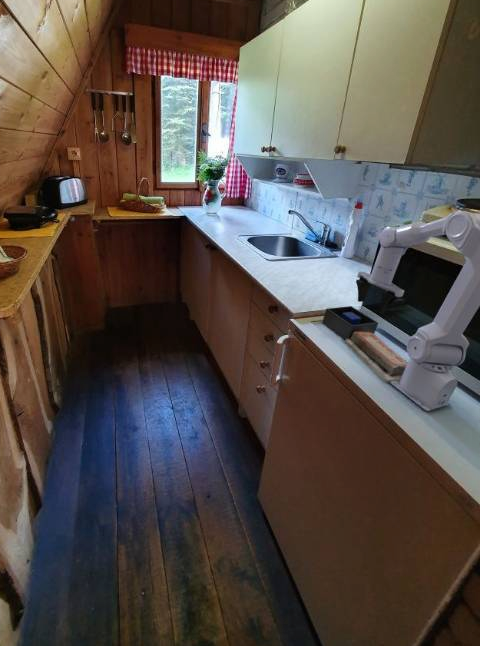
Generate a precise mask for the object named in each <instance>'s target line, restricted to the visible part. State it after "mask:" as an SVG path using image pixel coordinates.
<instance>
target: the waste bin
mask: <svg viewBox="0 0 480 646" xmlns="http://www.w3.org/2000/svg"><path fill="white" fill-rule="evenodd" d="M347 312H352V313H354V314H356V315H357V316H359V317H360V318H361V321H360V323H359V325H351V324H350V323H348V322H347V321H345V320H344V319H342V318H341V316H342V313H347ZM322 324H324V326H325V327H327V328H328V329H330V330H331V331H333V332H334V333H335V334H336V335H338V336H339V337H341V338H342V339H343V340H344V341H345V340H346V339H351V337H352V336H353V333H354V332H370V333H372V334H374V335H375V333H376V331H377V328H378V325H379V322H378V321H376V320H375V319H373V318H372V317H370V316H368V315H367V314H365V313H364V312H361V311H360V310H358V309H357V308H355V307H354V306H351V305H349V306H338V307H337V306H336V307H328V308H326V309H325V312H324V315H323V318H322Z"/></svg>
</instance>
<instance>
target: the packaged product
mask: <svg viewBox="0 0 480 646" xmlns="http://www.w3.org/2000/svg"><path fill="white" fill-rule="evenodd" d="M344 343H345V344H346V345H347V347H349V348H350V349H351V350H352V351H353V352H354V354H356V355H357V356H358V358H360V359H361V360H362V362H363V363H365V364H366V365H367V366H368V367H369V368H370V369H371V370H372V371H373V372H374V373H375V374H376V375H377V376H378V377H379V378H380V379H381V380H382V381H383V382H384V383H390V382H391V381H398V380H400V379H401V377H402V375H403V373H404V371H405V368H406V366H407V364H408V362H407V361H405V360H404V359H403V358H402V357H401V356H399V355H398V354H397V352H395V351H394V350H393V349H391V347H389V345H387V344H386V343H385V342H383V341H382V339H380V338H379V337H378V336H376V335H375V333H374V334H372V333H370V332H354V333H353V336H352V337H351V339H346V340H345V339H344ZM390 384H391V383H390Z"/></svg>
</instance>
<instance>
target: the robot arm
mask: <svg viewBox="0 0 480 646" xmlns="http://www.w3.org/2000/svg"><path fill="white" fill-rule="evenodd" d="M445 235H446V237H447V239H448V240H449V242H450V243H451V244H452V245H453V246H454V248H455V249H456V250H457V251H458V253H459V254H461V255H462V256H463V257H464V259H465V263H464V265H463V266H462V268H461V270H460V272H459V274H458V275H457V277H456V279H455V281H454V282H453V285H452V286H451V288H450V290H449V292H448V294H447V295H446V297H445V299H444V301H443V302H442V305H441V306H440V308H439V310H438V312H437V313H436V315H435V317H434V319H433V321H432V322H431V323H428V324H425V325H423V326H420V327H419V328H418V329H417V331H416V332H415V334H413V335H411V336H410V337H409V338H408V341H407V342H406V351H407V355H408V357H409V359H408V362H407V363H408V364H407V366H406V368H405V371H404V373H403V375H402V377H401V379H400V380H398V381H391V382H390V384H391V385H392V386H393V387H394V388H395V389H397V390H398V391H400V392H401V393H402V394H404V395H405V396H406V397H407V398H409V399H410V400H411V401H412V402H414V403H415V404H416V405H418V406H419V407H420V408H421V409H422V410H424V411H426V412H429V411H433V410H436V409H439V408H442V407H446V406H449V401H450V399H451V397H452V396H453V394H454V391H455V390H456V388H457V386H458V383H459V381H458V379H457V378H456V377H455V376H454V375H452V373H451V372H450V371H452V369H453V367H458V366H460V365H462V364H463V363H464V362H465V359H466V355H467V354H466V353H467V349H468V348H469V345H470V343H469V340H468V338H467V337H466V336H465V335H464V332H465V330H466V328H467V327H468V325H469V323H471V321H472V319H473V317H474V316H475V314H476V312H477V311H478V309H479V308H480V213H478V212H470V211H467V210H466V211H465V210H461V211H456V212H450V213H449V214H448V215H447V216H445V217H443V218H442V217H441V218H439V219H437V220H432V221H430V222H428V223H426V222H424V221H421V220H417V219H415V220H412V221H411V223H408V224H400V225H399V226H398V227H392V226H387V227H385V228H384V229H382V231H381V233H380V235H379V244H380V248H379V251H378V253H377V257H376V260H375V263H374V265H373V268H372V271H371V273H368V272H366V271H358V273H357V276H356V278H358V279H356V280H355V283H356V287H357V302H359V303H361V302H365V300H366V297H367V296H368V293H369V291H370V289H371V287H372V285H373V286H376V287H379V288H380V289H382V290H385V291H384V292H381V299H380V304H379V306H378V310H377V313H378V314H385V313H386V311H387V310H388V309H389V308H390V307H391V305H393V303H394V302H396V301H397V300H398V299H400V298H402V297H403V296H404V294H405V290H404V289H402V288H400V287H399V286H397V285H396V284H394V283H393V279H394V276H395V274H396V271H397V269H398V266H399V264H400V260H401V258H402V256H404V255H405V254H406V251H407V250H408V249H409V248H410V247H411V246H414V245H421V244H425V243H427V242H428V241H429V240H431V238H432V237H438V236H445Z"/></svg>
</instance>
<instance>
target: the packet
mask: <svg viewBox="0 0 480 646" xmlns="http://www.w3.org/2000/svg"><path fill="white" fill-rule="evenodd" d="M341 318H342V319H344V320H345V321H347V322H348V323H350V324H351V325H359V323H360V321H361V318H360V317H359V316H357V315H356V314H354V313H352V312H347V313H342V316H341Z"/></svg>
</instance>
